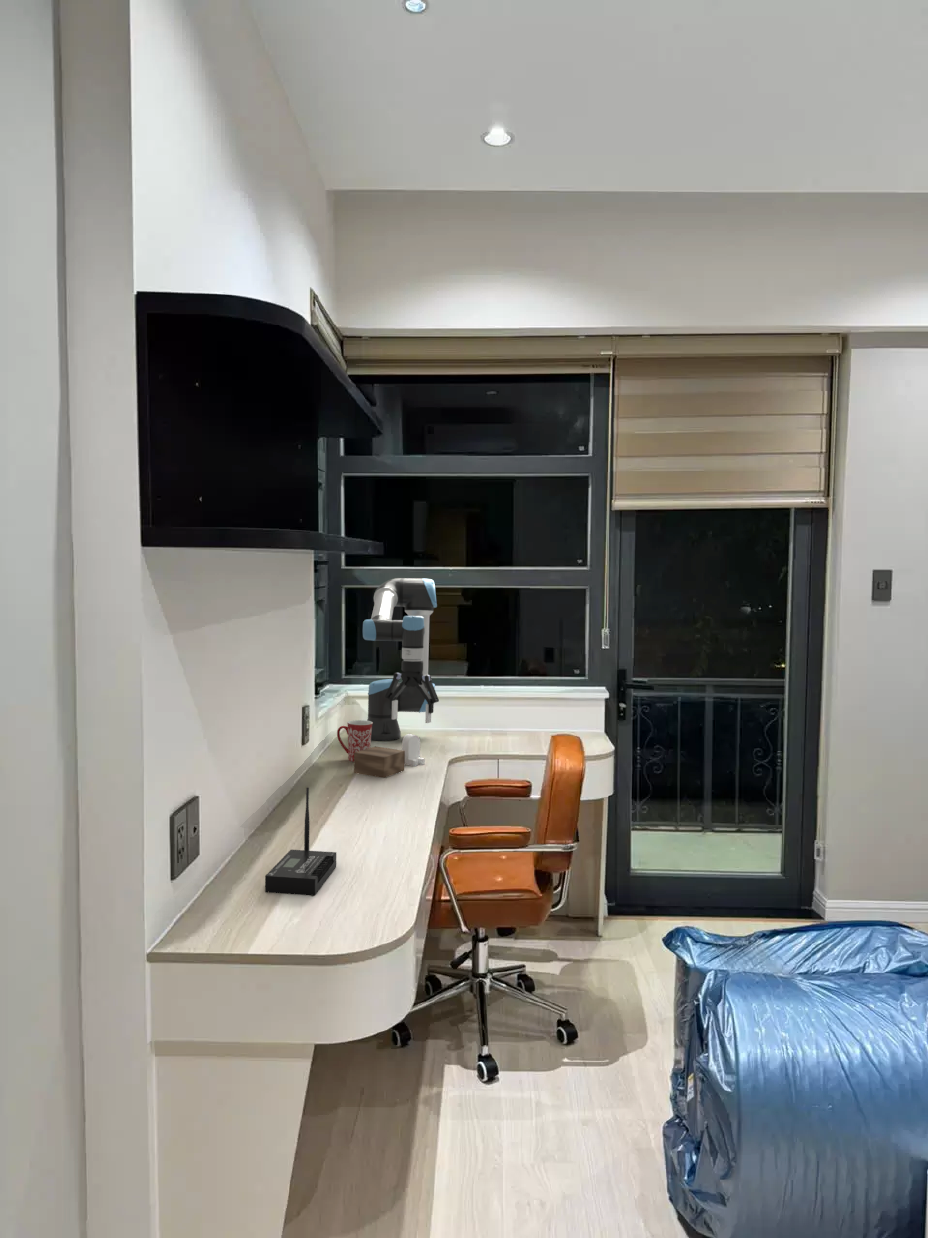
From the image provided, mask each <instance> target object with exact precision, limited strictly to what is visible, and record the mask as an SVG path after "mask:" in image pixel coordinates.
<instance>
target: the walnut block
mask: <svg viewBox="0 0 928 1238" xmlns="http://www.w3.org/2000/svg"><path fill="white" fill-rule="evenodd" d="M405 765H406V764H405V751H403V750H402V749H397V748H396V749H395V748H391V747H390V748H387V747H381V746H371V747H370V748H368V749H365V750H361V751H358V752H355V753H354V762H353V774H357V773H359V774H358V775H364V776H370V777H375V778H379V779H385V778H388V777H391V776H393V775H396V773H397V774H399V772H400V773H402V772H404V771H405ZM401 771H402V772H401Z"/></svg>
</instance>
